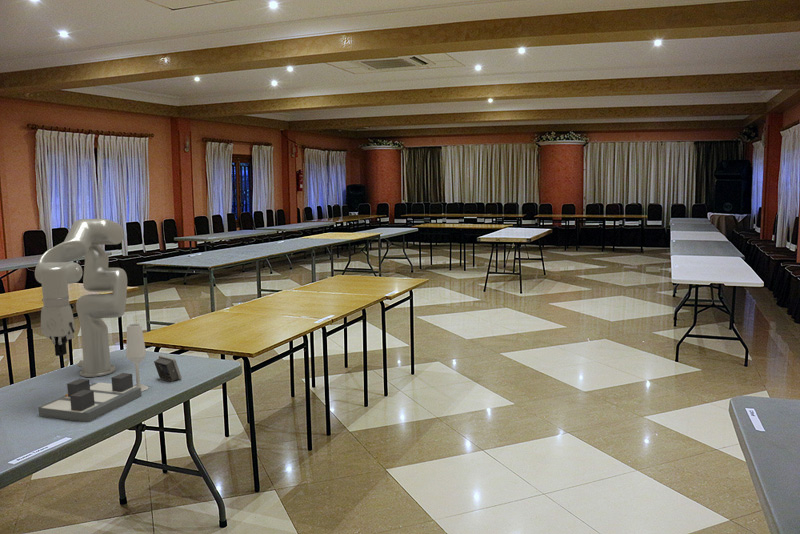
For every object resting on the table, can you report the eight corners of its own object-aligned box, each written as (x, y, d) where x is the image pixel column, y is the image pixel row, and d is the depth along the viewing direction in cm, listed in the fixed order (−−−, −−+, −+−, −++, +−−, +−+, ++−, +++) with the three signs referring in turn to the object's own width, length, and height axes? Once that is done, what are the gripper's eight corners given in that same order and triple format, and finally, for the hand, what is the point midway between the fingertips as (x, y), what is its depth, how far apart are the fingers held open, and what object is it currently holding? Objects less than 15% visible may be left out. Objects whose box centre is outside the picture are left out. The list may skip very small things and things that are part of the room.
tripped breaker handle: (68, 396, 201) (67, 383, 201) (80, 390, 207) (79, 378, 206) (77, 397, 200) (76, 384, 200) (90, 392, 206) (89, 379, 205)
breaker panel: (37, 416, 193) (35, 392, 192) (95, 390, 217) (94, 369, 216) (88, 422, 188) (86, 398, 187) (142, 395, 212) (140, 373, 211)
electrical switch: (182, 379, 229) (178, 356, 227) (170, 384, 225) (167, 361, 223) (167, 375, 234) (163, 353, 232) (155, 380, 230) (151, 357, 228)
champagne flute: (129, 393, 214) (124, 328, 211) (128, 387, 220) (123, 324, 217) (149, 390, 217) (145, 326, 214) (147, 384, 223) (143, 322, 220)
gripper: (28, 303, 199) (34, 356, 202) (65, 305, 195) (70, 359, 198) (47, 299, 206) (52, 350, 209) (83, 301, 202) (87, 353, 205)
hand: (61, 354), depth 203 cm, fingers closed
